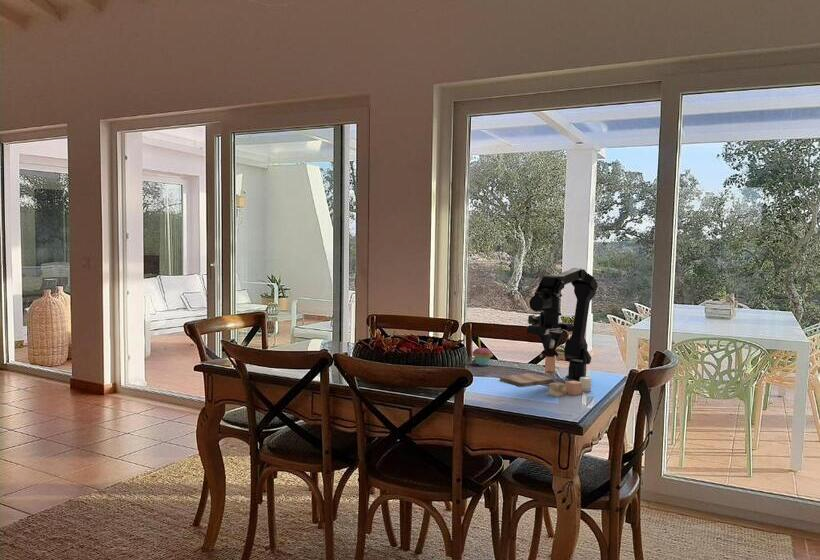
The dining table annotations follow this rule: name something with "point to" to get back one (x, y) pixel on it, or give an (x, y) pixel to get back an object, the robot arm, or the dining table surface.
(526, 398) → the dining table surface
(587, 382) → the off-white cylinder
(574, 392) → the terracotta block
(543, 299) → the robot arm
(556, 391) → the beech block
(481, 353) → the cupcake
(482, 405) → the dining table surface
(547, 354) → the grandmother figurine
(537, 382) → the walnut board
